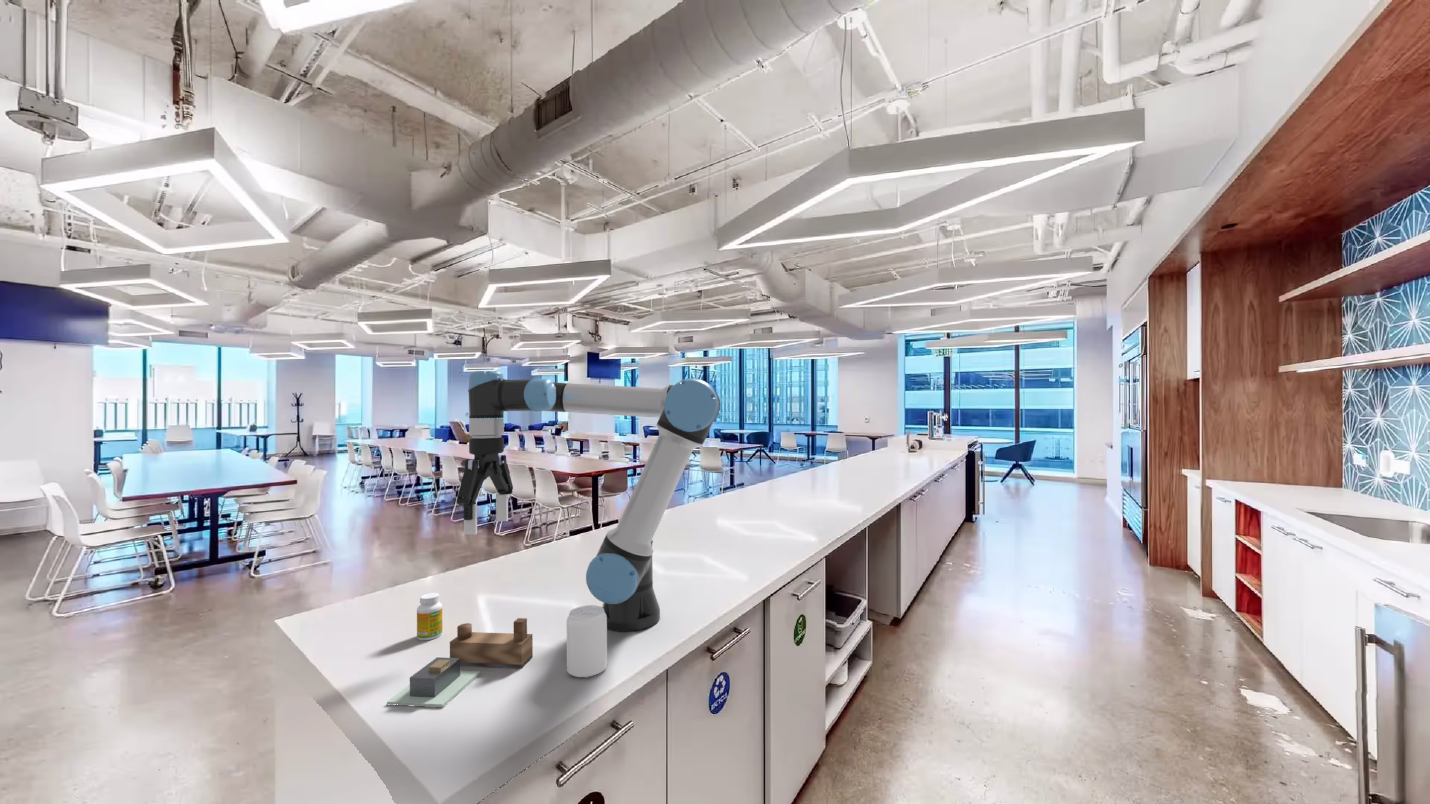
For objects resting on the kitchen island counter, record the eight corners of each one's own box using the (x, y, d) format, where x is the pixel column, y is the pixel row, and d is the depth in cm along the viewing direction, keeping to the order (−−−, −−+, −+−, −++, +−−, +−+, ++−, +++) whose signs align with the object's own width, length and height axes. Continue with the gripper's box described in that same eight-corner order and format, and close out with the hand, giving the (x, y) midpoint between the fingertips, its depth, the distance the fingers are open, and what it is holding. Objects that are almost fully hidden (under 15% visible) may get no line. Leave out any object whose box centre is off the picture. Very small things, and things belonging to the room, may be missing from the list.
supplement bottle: (431, 642, 122) (431, 600, 122) (411, 640, 123) (411, 599, 123) (447, 632, 127) (447, 592, 127) (428, 630, 128) (428, 591, 128)
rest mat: (479, 674, 106) (479, 671, 106) (443, 707, 94) (443, 704, 94) (429, 672, 107) (429, 669, 107) (386, 705, 95) (386, 701, 95)
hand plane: (532, 657, 113) (532, 615, 113) (521, 668, 108) (521, 625, 108) (463, 654, 115) (463, 613, 115) (449, 665, 110) (449, 623, 110)
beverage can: (586, 684, 102) (586, 622, 102) (558, 673, 106) (558, 614, 106) (615, 666, 109) (614, 608, 109) (587, 657, 113) (587, 601, 113)
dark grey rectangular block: (460, 675, 104) (460, 654, 104) (434, 697, 96) (434, 674, 97) (437, 674, 105) (437, 653, 105) (409, 696, 97) (409, 673, 97)
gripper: (499, 434, 135) (499, 516, 134) (437, 440, 110) (438, 540, 110) (526, 434, 134) (527, 516, 134) (471, 439, 109) (471, 540, 109)
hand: (487, 527), depth 122 cm, fingers open, 13 cm apart
